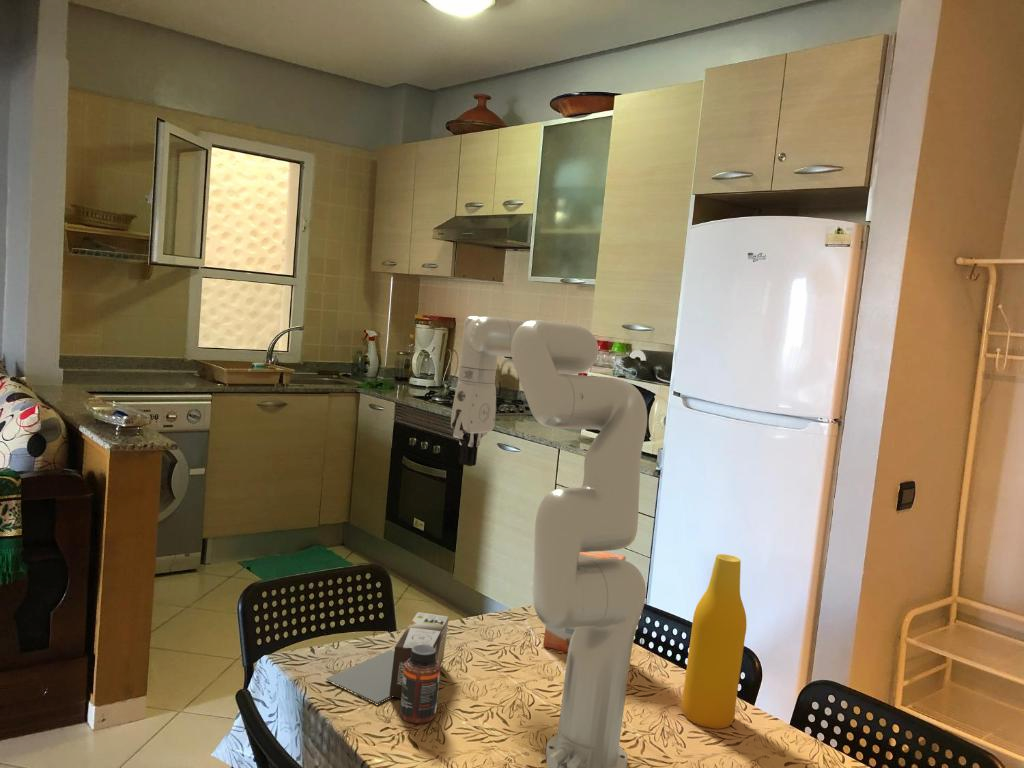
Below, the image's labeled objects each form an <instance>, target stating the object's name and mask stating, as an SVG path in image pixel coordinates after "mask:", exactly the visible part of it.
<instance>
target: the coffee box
mask: <svg viewBox="0 0 1024 768" xmlns="http://www.w3.org/2000/svg"><path fill="white" fill-rule="evenodd" d="M448 625H449V616H446V615H441V614H440V615H439V614H434V613H427V612H420V611H418V612H416V614H415V616H414V617H413V619H412V620H411V622H410V623H409V625H408V626H407V628H406V629H405V631H404V632H403V634H402V635H401V637H400V638H399V640H398V641H397V644H396V645H394V646H395V647H394V650H393V651H394V660H393V669H392V677H391V685H390V696H394V697H395V698H400V699H401V695H402V685H403V684H402V683H403V673H404V665H405V663H406V661H407V660H408V659H410V658H411V651H412V648H413V647H414V646H417V645H429V646H432V647H434V648H435V649H436V658H435V659H436V660H437V661H438V663H439V664H440V667H441V665H442V663H443V661H444V656H445V649H446V641H447V633H448V632H447V631H448Z"/></svg>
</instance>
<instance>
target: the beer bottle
mask: <svg viewBox="0 0 1024 768" xmlns="http://www.w3.org/2000/svg"><path fill="white" fill-rule="evenodd" d="M746 633H747V614H746V610H745V607H744V604H743V601H742V598H741V559H740V558H739V557H736V556H734V555H730V554H724V553H723V554H722V553H721V554H716V555H715V560H714V563H713V567H712V571H711V576H710V579H709V583H708V585H707V589H706V591H705V592H704V594H702V597H701V598H700V599H699V600H698V603H697V604H696V606H695V609H694V613H693V618H692V625H691V634H690V638H689V639H690V641H689V647H688V655H687V664H686V670H685V679H684V686H683V692H682V696H681V697H682V698H681V706H680V707H681V712H682V714H683V716H684V717H685V718H686V719H688V720H689V721H690V722H692V723H694V724H695V725H698V726H701V727H705V728H709V729H714V730H715V729H716V730H717V729H724V728H728V727H729V726H731V724H733V722H734V719H735V715H736V705H737V697H738V691H739V683H740V676H741V667H742V662H743V654H744V646H745V639H746Z"/></svg>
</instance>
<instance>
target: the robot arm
mask: <svg viewBox="0 0 1024 768" xmlns="http://www.w3.org/2000/svg"><path fill="white" fill-rule="evenodd" d="M461 341H462V342H461V350H460V351H461V352H460V360H459V368H458V369H459V370H458V377H457V378H458V379H457V386H456V389H455V392H454V397H453V403H452V409H451V415H450V416H451V418H450V427H451V429H452V430H453V434H452V436H453V437H454V438H457V439H458V440H459V445H460V450H459V458H458V464H460V465H463V466H468V467H472V466H476V465H477V456H478V451H479V450H478V447H479V446H480V444H481V440H482V437H485V436H486V435H487V434H488V433H489V432H492V431H493V430H494V429H495V422H496V411H497V410H496V409H497V391H496V390H497V389H496V384H495V381H496V373H497V365H498V357H506V358H511V359H512V362H513V366H514V369H515V372H516V375H517V377H518V380H519V382H520V385H521V388H522V390H523V394H524V396H525V399H526V401H527V405H528V407H529V410H530V413H531V414H532V416H533V417H534V419H535V420H536V421H537V422H538V423H539V424H540V425H542V426H543V427H546V428H549V429H550V428H551V429H559V430H560V429H567V430H569V429H570V430H598V431H600V432H599V433H598V434H597V435H596V436H595V437H594V439H593V440H592V442H591V444H590V445H589V448H588V449H587V450H586V454H585V456H584V460H583V461H584V463H583V481H582V484H581V487H562V488H556V489H553V490H551V491H550V492H548V493H547V494H546V495H545V496H544V497H543V498H542V500H541V501H540V504H539V506H538V509H537V513H536V517H535V524H534V544H533V545H534V547H533V566H532V567H533V570H532V600H533V606H534V610H535V613H536V616H537V618H538V620H539V621H540V622H541V623H542V624H543V625H545V626H548V627H551V628H556V629H562V628H573V627H576V629H575V631H574V633H573V635H572V638H571V640H570V644H569V649H568V652H567V657H566V664H565V665H566V666H565V673H564V681H563V688H562V689H563V690H562V698H561V706H560V712H559V723H558V729H557V730H558V731H557V734H555V735H553V736H552V737H550V738H549V739H548V740H547V743H546V746H545V748H546V749H545V756H546V766H547V767H548V768H628V763H629V761H628V755H627V754H626V752H625V750H624V748H622V747H621V746H620V741H621V736H622V735H621V734H622V727H623V717H624V710H625V703H626V697H627V688H628V681H629V680H628V679H629V672H630V664H631V659H632V653H633V652H632V651H633V645H634V639H635V635H636V632H637V628H638V625H639V621H640V619H641V616H642V613H643V609H644V606H645V601H646V595H647V588H646V581H645V579H644V576H643V574H642V573H641V570H640V569H638V567H637V566H636V565H635V564H633V563H632V562H629V561H628V560H626V559H625V560H621V559H615V558H604V559H587V560H581V561H578V558H579V553H580V552H594V551H601V552H606V551H607V552H608V551H616V550H621V549H622V550H623V549H625V548H628V547H630V546H631V545H632V544H633V542H634V541H635V539H636V536H637V533H638V532H637V531H638V524H639V506H640V505H639V504H640V503H639V502H640V485H641V484H640V481H641V459H642V458H641V457H642V452H643V446H644V442H645V441H644V440H645V436H646V432H647V428H648V410H647V404H646V402H645V399H644V396H643V395H642V392H640V391H639V389H638V388H636V386H634V384H631V383H630V382H628V381H625V380H622V379H620V378H619V379H618V378H613V377H607V376H606V377H605V376H597V375H580V374H582V373H584V372H586V371H588V370H589V369H590V368H592V366H594V364H595V363H596V361H597V360H598V357H599V353H600V352H599V344H598V341H597V338H596V337H595V336H594V334H593V333H592V332H591V331H589V330H588V329H587V328H585V327H583V326H581V325H579V324H573V323H567V322H565V323H564V322H555V321H550V320H549V321H548V320H542V319H533V320H522V319H517V318H516V319H515V318H507V317H495V316H480V315H471V316H468V317H466V318H465V321H464V325H463V333H462V340H461Z"/></svg>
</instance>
